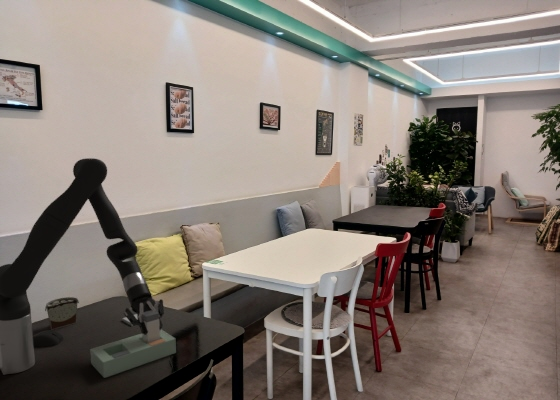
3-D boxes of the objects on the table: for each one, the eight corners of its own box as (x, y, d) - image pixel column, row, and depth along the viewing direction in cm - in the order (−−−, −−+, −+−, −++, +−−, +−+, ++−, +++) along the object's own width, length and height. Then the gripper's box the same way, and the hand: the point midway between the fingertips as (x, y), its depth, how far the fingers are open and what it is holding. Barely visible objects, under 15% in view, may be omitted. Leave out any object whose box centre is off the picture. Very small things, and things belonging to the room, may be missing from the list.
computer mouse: (55, 346, 151) (55, 336, 151) (24, 346, 152) (23, 336, 151) (65, 339, 158) (64, 328, 157) (35, 339, 158) (34, 328, 158)
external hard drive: (122, 321, 174) (149, 313, 183) (132, 327, 168) (159, 317, 177) (121, 318, 173) (149, 309, 183) (131, 323, 168) (159, 314, 177)
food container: (75, 317, 177) (73, 294, 176) (80, 322, 173) (78, 298, 172) (42, 326, 169) (40, 302, 168) (47, 331, 164) (45, 306, 163)
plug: (148, 345, 142) (146, 316, 141) (142, 341, 145) (140, 313, 144) (160, 341, 145) (158, 313, 144) (154, 337, 148) (153, 309, 147)
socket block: (104, 378, 129) (103, 361, 129) (91, 363, 138) (90, 348, 138) (176, 352, 145) (175, 338, 144) (160, 341, 154) (159, 327, 153)
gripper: (118, 287, 144) (135, 332, 136) (158, 278, 153) (176, 320, 146) (114, 298, 148) (129, 343, 141) (152, 289, 158) (169, 330, 150)
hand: (153, 331), depth 143 cm, fingers closed on plug, 4 cm apart
